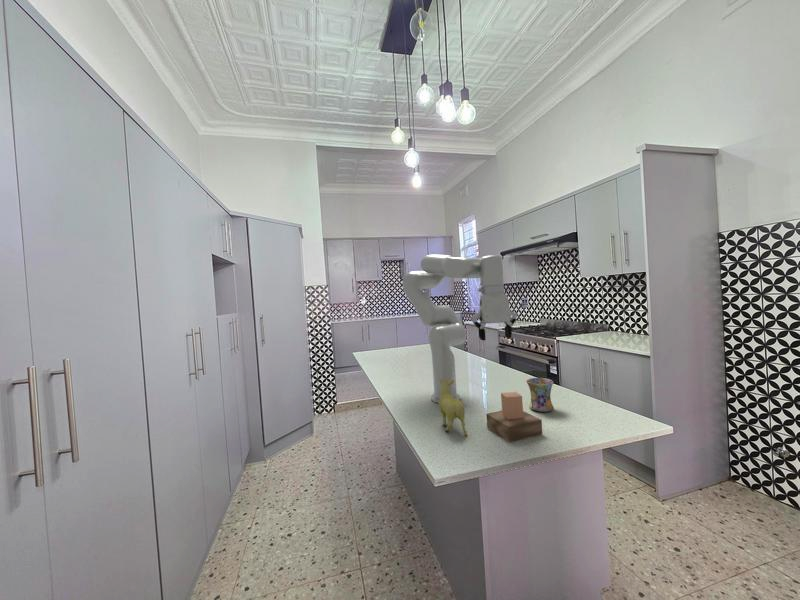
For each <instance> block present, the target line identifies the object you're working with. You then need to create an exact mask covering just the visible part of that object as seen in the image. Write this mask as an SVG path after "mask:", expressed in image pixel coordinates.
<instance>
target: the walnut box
mask: <svg viewBox="0 0 800 600" xmlns="http://www.w3.org/2000/svg"><path fill="white" fill-rule="evenodd" d="M523 417H524V418H520V419H507V418H506V417H505V416H504V415H503V414H502V410H499V411H498V410H497V411H493V412H488V413H486V426H487V427H486V428H488V430H490V431H492V432H493V433H495V434H496V435H498V436H500V437H501V438H503V439H504V440H505V441H507V442H509V443H513V442H517V441H522V440H525V439H529V438H535V437H538V436H542V435H543V422H542V421H543V420H542V419H541V418H539V417H536V416H534V415H532V414H530V413H528V412H526V411H524V410H523Z"/></svg>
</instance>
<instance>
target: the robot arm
mask: <svg viewBox="0 0 800 600" xmlns="http://www.w3.org/2000/svg"><path fill="white" fill-rule="evenodd" d="M420 267H421V270H412V271H409V272H407V273H406V274H405V275H404V276H403V277H402V278H403V279H402V289H403V291H404V295H405V296H406V298H407V299H408V301H410V303H411V304H412V306H413V308H414V309H415V311H416V313H417V315H418V316H419V318H420V321H421V322H422V323H423V324H424V326H425V327H427V328H431V329H430V331H429V332H428V343H429V346H430V351H431V360H432V361H431V362H432V377H433V378H432V379H433V391H434V393H433V394H432V395H431V396H430V399H431V401H432V402H434V403H438V404H439V399H440V392H441V389H442V384H441V383H440V381H439V380H440V379H441V380H442V381H443V382H450V381H451V380H454V383H453V384H451V385H450V386H449V390H450V393H451V396H452V398H454V399H457V400H459V401H461V399H462V398H461V397H462V396H461V395H460V394H459V393H458V391H457V377H456V375H457V374H456V362H455V361H456V360H455V355H454V352H453V351H452V349H451V347H455V346H460V345H463V344H464V343H465V342H466V340H467V336H468V335H467V331H466V328H465V326H464V324H463V323H462V321H461V320H460V318H459V316H458V315H457V313H456V312H455V310H454V309H453V308H452V307H450V305H446V304H442V305H441V304H439V305H437V304H435V303H434V302H433V300H432V299H431V297H430V295H429V294H427V293H426V292H425V291H423V290H426V289H427V290H429V289H431V290H432V289H435V288H437V287H438V286H439V285H440V284H441V283H442V281H444V280H445V278H446V277H448V278H455V279H462V280H463V279H465V280H466V279H480V280H481V281H480V282H481V287H479V288H478V289H477V290H478V293H481V295H480V297H479V303H478V304H479V305H478V312H476V313H475V314H473V315H472V316H470V320H471V322H472V323H473V325H474V326H475V327H476V328H477V329H478V337H479V339H480V340H481V341H486V340H487V339H486V329H485V328H484V327H486V325H487V324H497V323H498V324H499V323H503V324H505V326H504V337H505V338H508V339H511V338H512V334H513V332H512V327H513V325H514V324H515V323H516V321H517V318H518V314H519V313H517V312H515V311H512V310H511V308H510V307H511V306H510V303H509V299H508V294H507V293H505V288H504V287H505V286H504V268H503V258H502V256H501V255H498V254H497V255H496V254H494V255H493V254H492V255H485V256H482V257H454V256H453V255H450V254H449V255H448V254H426V255H425V256H424V257H423V258H422V259H421V260H420ZM477 319H479V321H478V320H477Z"/></svg>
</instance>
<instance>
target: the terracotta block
mask: <svg viewBox="0 0 800 600" xmlns="http://www.w3.org/2000/svg"><path fill="white" fill-rule="evenodd" d="M500 399H501V411H502V414H503V415H504V416H505V417H506V418H507V419H520V418H524V417H523V411H524V408H523V407H524V406H523V405H524V403H523V396H522V394H520V393H518V392H517V391H510V392H509V391H508V392H507V391H506V392H501V393H500Z"/></svg>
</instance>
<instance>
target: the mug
mask: <svg viewBox="0 0 800 600" xmlns="http://www.w3.org/2000/svg"><path fill="white" fill-rule="evenodd" d="M526 384H527V386H528V389H529V391H530V401H529V404H528V407H529V408H530V409H531V410H533V411H535V412H541V413H546V412H551V411H553V410H554V405H553V403H552V399H551V391H552V388H553V386H554V380H552V379H549V378H544V377H532V378H528V379H526Z"/></svg>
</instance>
